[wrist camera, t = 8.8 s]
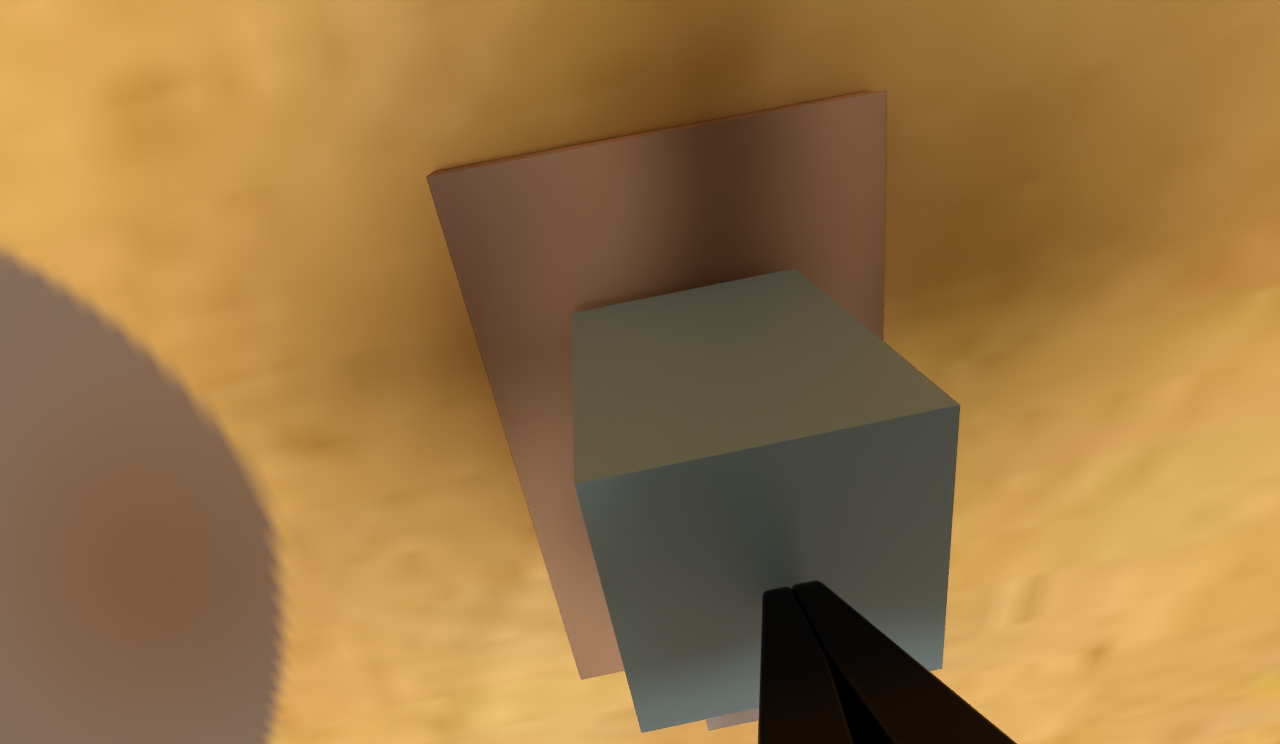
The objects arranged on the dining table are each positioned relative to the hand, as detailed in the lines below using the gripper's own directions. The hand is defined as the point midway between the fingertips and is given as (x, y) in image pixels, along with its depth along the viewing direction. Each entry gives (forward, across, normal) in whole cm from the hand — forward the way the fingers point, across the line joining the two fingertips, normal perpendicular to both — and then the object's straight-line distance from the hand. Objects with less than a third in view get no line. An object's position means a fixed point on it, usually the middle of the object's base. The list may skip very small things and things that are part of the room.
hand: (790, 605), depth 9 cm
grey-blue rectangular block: (+7, 0, 0) cm, 7 cm away
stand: (+8, 0, +2) cm, 9 cm away
